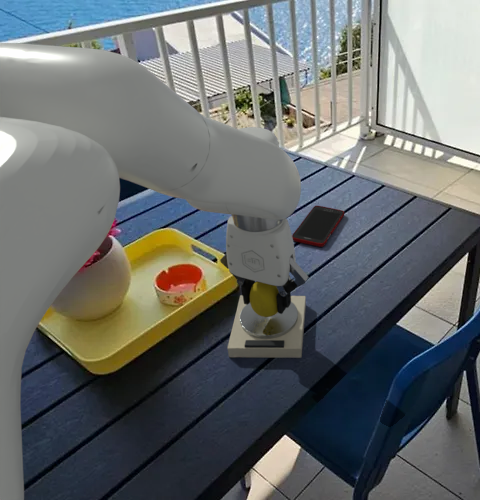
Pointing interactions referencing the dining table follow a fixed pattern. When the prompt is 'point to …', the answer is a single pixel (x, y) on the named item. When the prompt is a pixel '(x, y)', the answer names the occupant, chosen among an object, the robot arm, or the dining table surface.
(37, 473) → the dining table surface
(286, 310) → the scale
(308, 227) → the cell phone
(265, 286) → the lemon
